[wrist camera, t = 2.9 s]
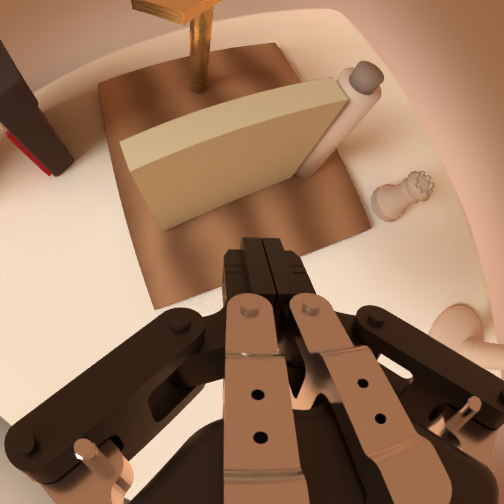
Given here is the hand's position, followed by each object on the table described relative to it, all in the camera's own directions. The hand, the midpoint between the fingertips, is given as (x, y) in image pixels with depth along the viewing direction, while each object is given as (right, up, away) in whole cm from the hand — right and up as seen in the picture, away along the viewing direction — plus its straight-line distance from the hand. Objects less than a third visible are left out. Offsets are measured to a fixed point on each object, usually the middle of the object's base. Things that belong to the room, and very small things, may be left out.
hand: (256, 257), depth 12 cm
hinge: (-1, +7, +17) cm, 19 cm away
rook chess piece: (+16, +6, +22) cm, 28 cm away
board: (-3, +12, +19) cm, 23 cm away
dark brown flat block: (-25, +13, +17) cm, 33 cm away
